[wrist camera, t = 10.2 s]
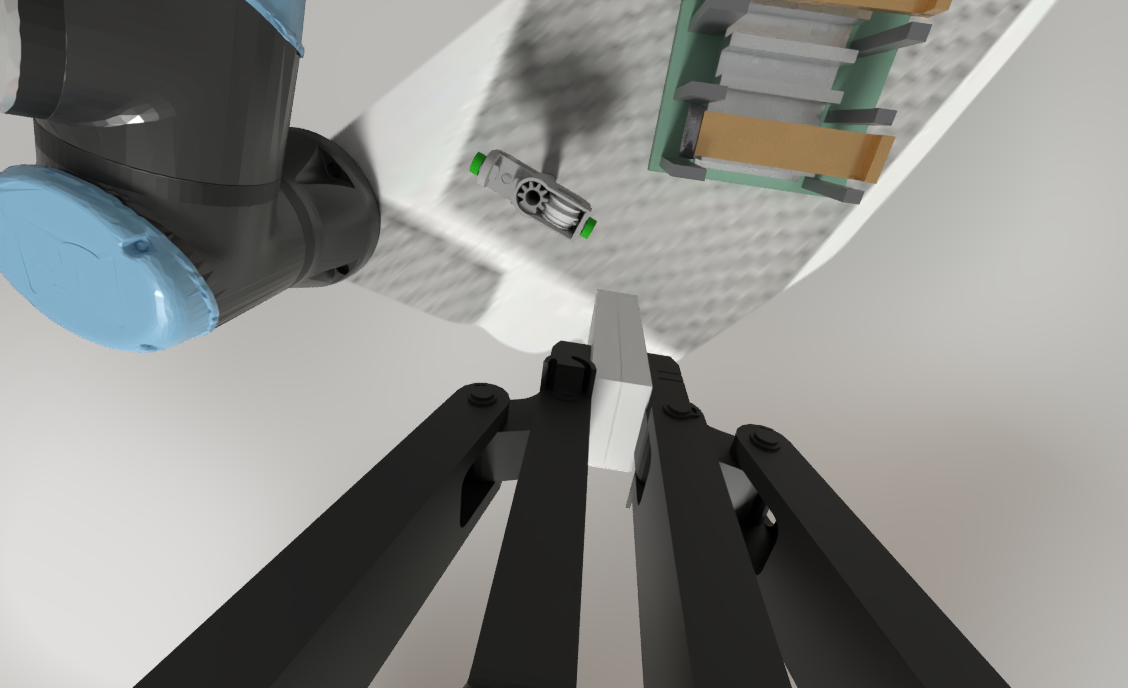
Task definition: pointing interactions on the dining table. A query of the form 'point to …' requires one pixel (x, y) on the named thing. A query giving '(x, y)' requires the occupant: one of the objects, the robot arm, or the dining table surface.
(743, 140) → the strap
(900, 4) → the strap
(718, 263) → the dining table surface
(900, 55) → the dining table surface
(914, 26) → the set of grey pegs
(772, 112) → the heatsink
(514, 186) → the mechanical component
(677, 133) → the socket board
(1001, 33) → the dining table surface
